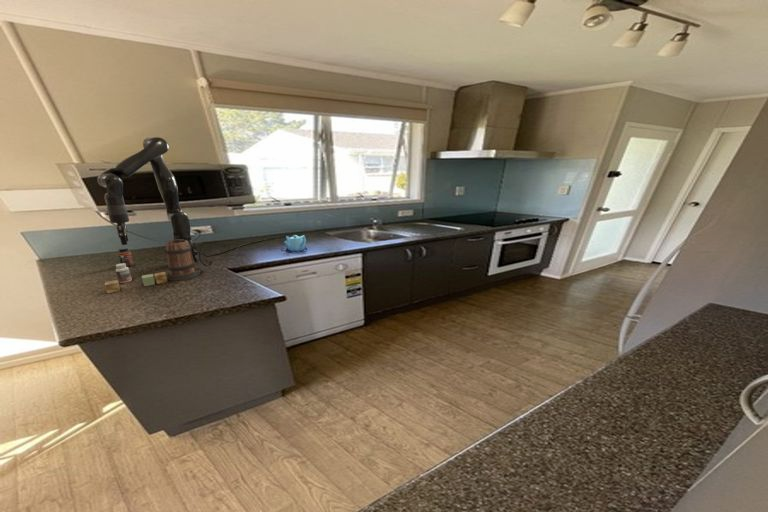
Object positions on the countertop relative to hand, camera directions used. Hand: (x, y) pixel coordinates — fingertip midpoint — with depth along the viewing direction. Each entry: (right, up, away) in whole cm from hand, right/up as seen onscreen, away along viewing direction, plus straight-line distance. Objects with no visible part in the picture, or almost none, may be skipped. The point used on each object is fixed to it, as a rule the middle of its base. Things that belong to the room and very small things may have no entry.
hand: (125, 242), depth 155 cm
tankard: (+27, -17, +13) cm, 34 cm away
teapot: (+74, -2, +62) cm, 96 cm away
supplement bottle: (-19, -13, +23) cm, 33 cm away
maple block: (+19, -21, +1) cm, 29 cm away
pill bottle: (0, -21, +1) cm, 21 cm away
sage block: (+15, -22, -2) cm, 27 cm away
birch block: (+4, -25, -11) cm, 27 cm away
